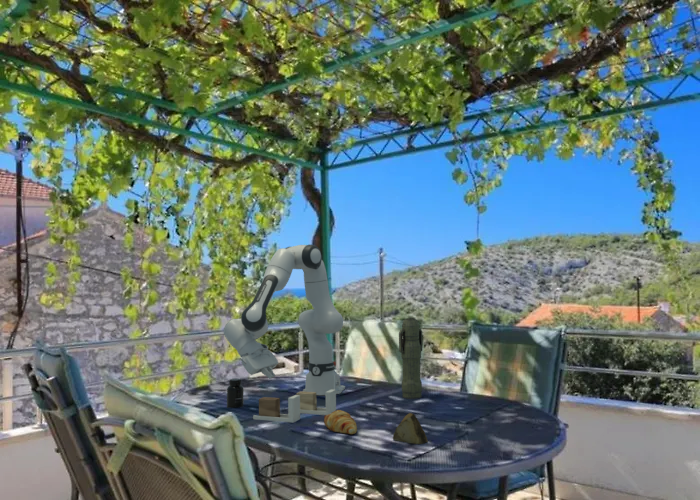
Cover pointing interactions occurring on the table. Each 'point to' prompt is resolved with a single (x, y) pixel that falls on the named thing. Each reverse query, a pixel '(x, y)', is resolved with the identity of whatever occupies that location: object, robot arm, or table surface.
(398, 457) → the table surface
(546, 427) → the table surface
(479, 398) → the table surface
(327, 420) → the croissant
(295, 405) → the grey l-shaped bracket
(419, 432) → the rock
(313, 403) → the tan wooden block
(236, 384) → the supplement bottle
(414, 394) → the thermos
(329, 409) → the white l-shaped piece
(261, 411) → the brown wooden block
